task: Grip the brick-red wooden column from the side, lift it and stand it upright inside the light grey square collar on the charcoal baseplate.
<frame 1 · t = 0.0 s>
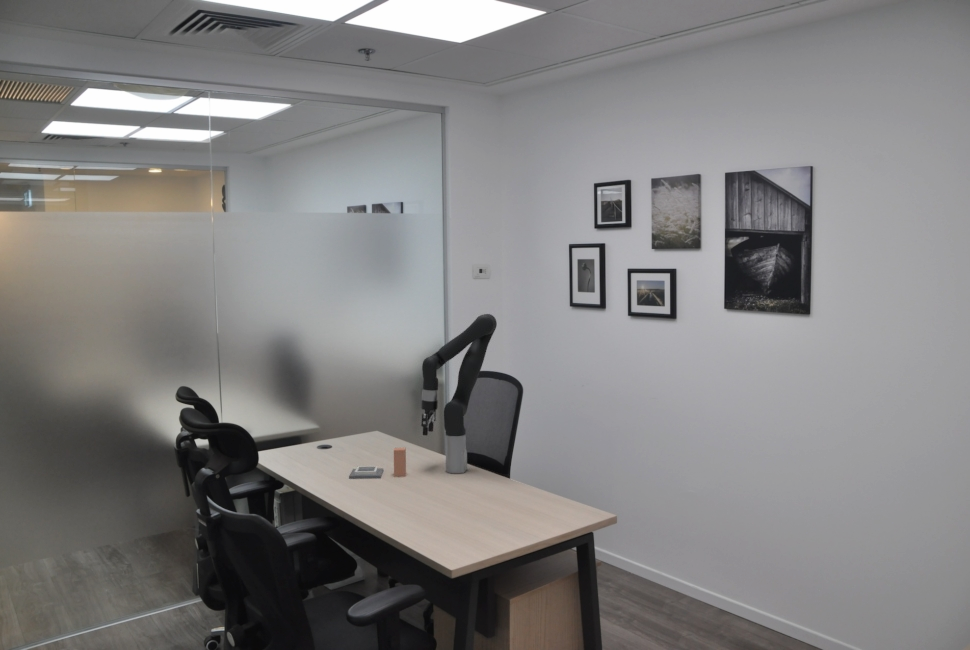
hand: (427, 433, 338), 17 cm above the table, tool pointing down, fingers open, 8 cm apart
column: (400, 474, 330), on the table
baseplate: (366, 474, 330), on the table
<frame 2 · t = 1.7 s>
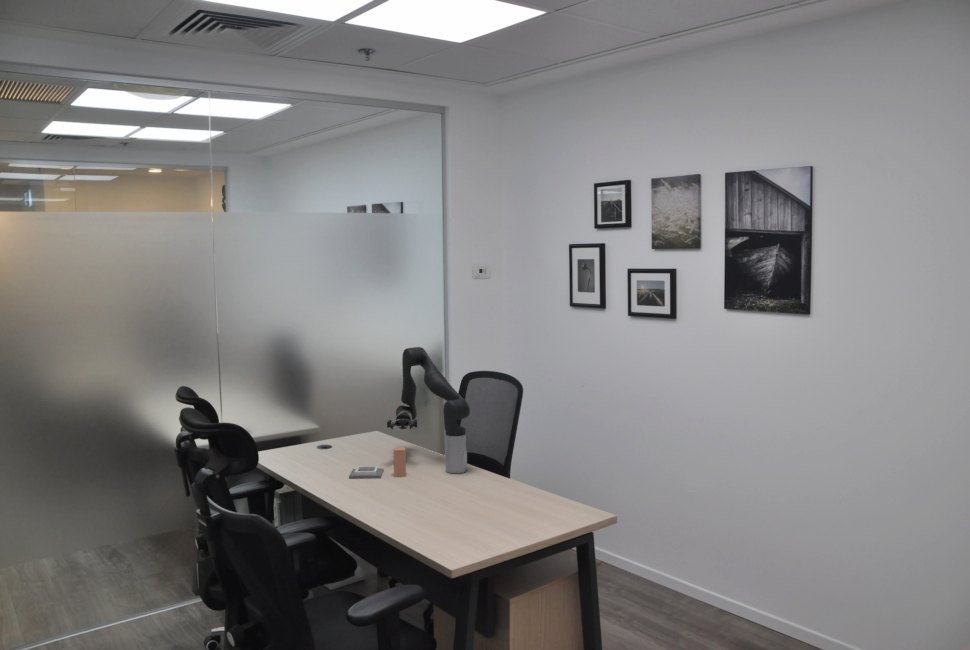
hand: (401, 426, 339), 20 cm above the table, tool horizontal, fingers open, 8 cm apart
nothing on the table moved.
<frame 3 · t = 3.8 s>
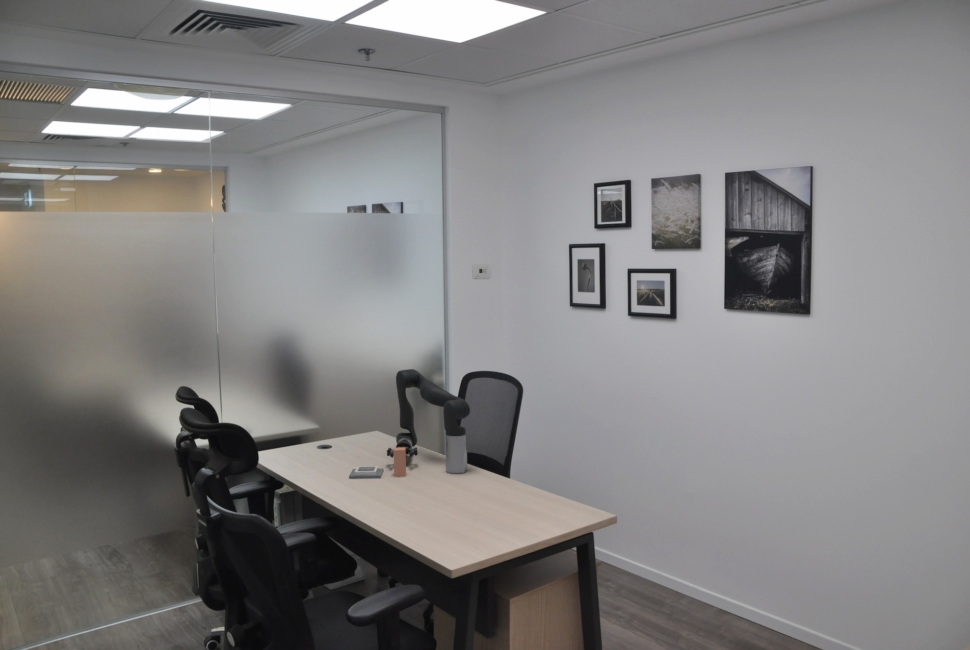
hand: (401, 455, 337), 7 cm above the table, tool horizontal, fingers open, 8 cm apart
nothing on the table moved.
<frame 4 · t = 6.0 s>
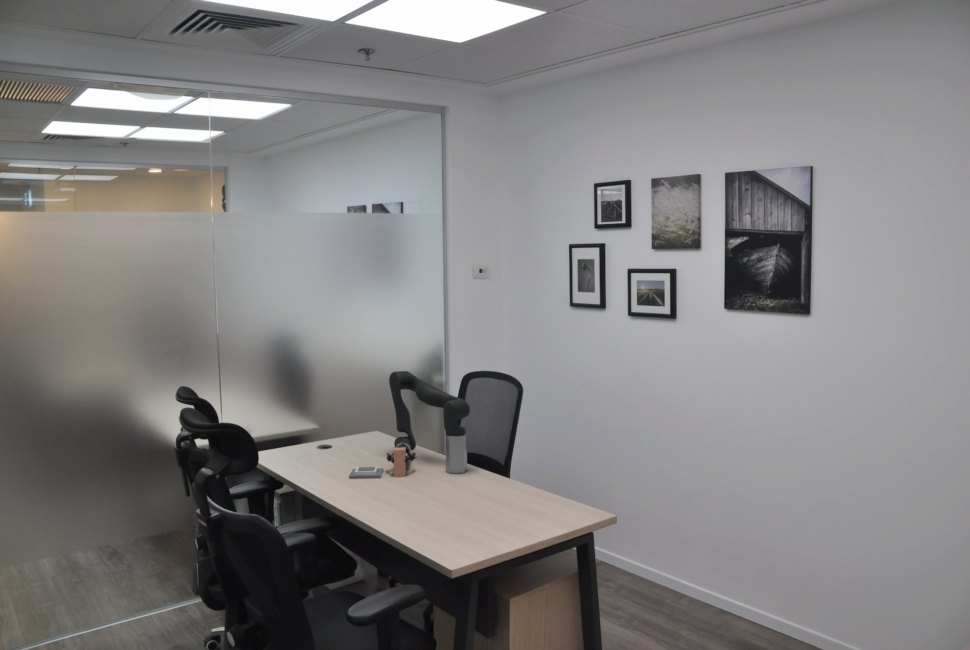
hand: (399, 461, 327), 7 cm above the table, tool horizontal, fingers closed on column, 5 cm apart
column: (400, 474, 330), on the table, touching gripper
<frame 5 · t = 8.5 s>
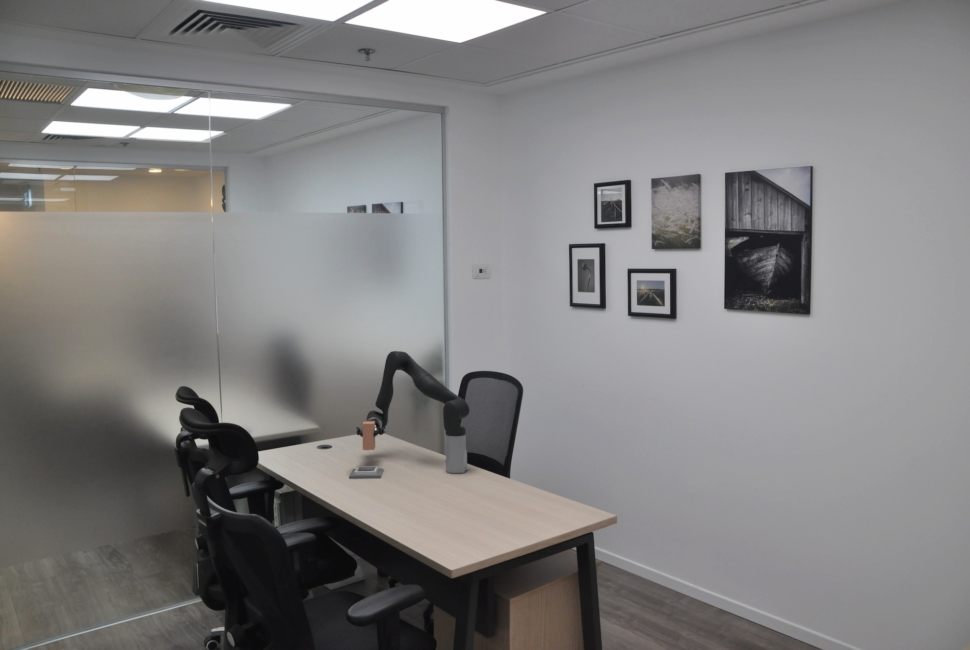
hand: (368, 434, 327), 19 cm above the table, tool horizontal, fingers closed on column, 5 cm apart
column: (369, 448, 330), point 12 cm above the table, touching gripper
when the fingers open (9 cm above the table, at t = 10.9 s): column drops 1 cm, resting on baseplate.
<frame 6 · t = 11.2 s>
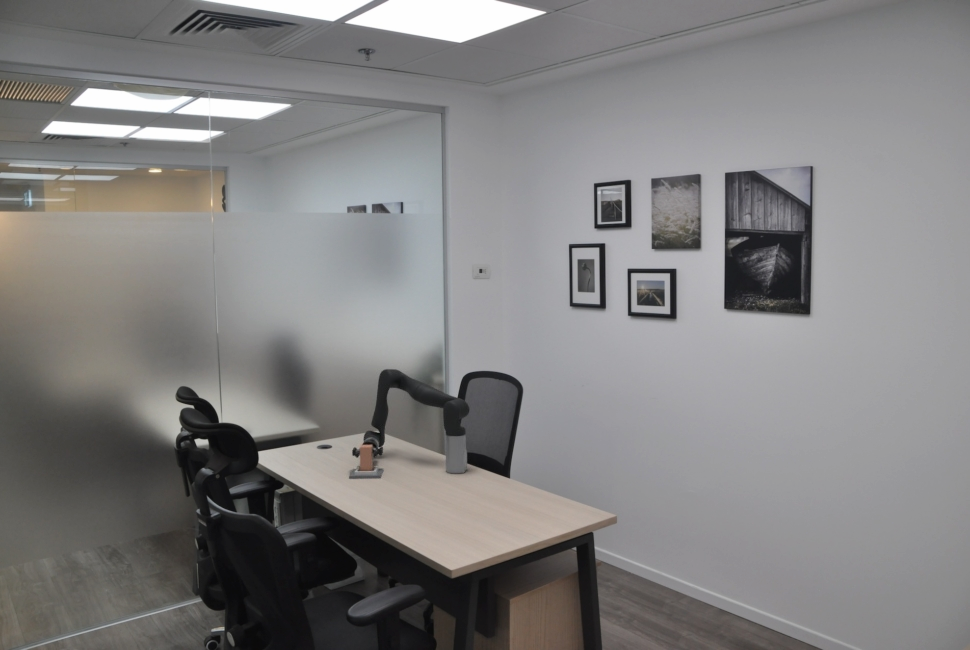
hand: (365, 455, 327), 9 cm above the table, tool horizontal, fingers open, 7 cm apart
column: (366, 472, 330), point 1 cm above the table, touching baseplate
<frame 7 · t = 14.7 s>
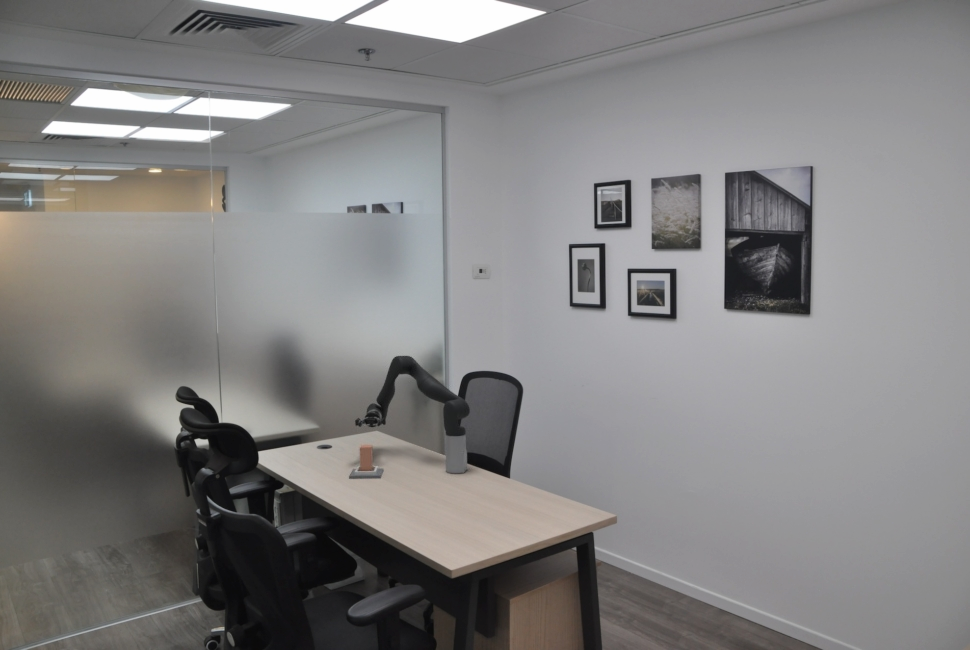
hand: (369, 424, 340), 21 cm above the table, tool horizontal, fingers open, 8 cm apart
nothing on the table moved.
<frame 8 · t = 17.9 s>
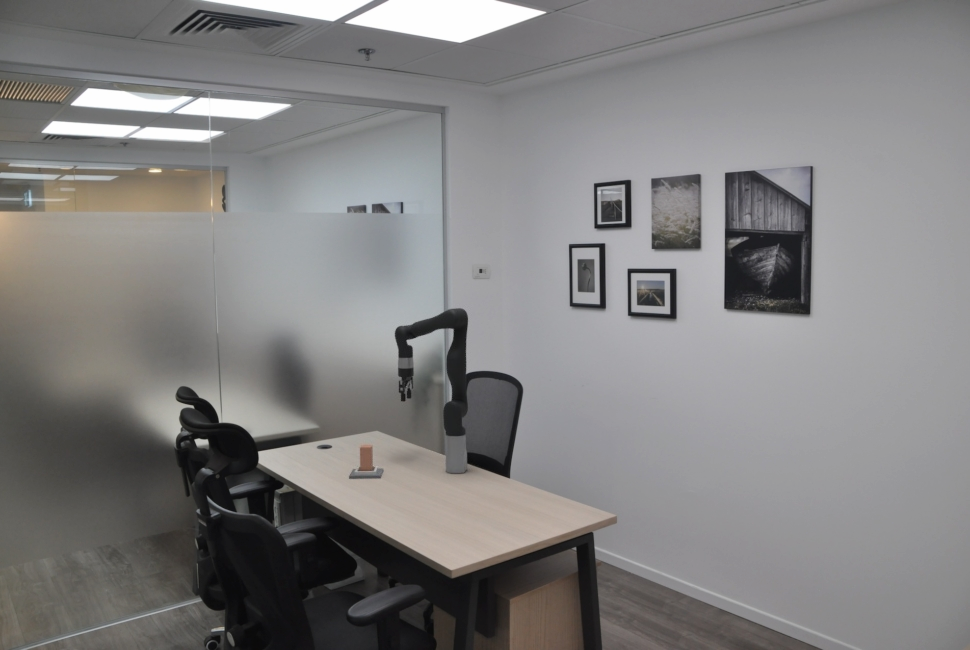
hand: (406, 399, 352), 30 cm above the table, tool pointing down, fingers open, 8 cm apart
nothing on the table moved.
at the end: column 0.1 cm off-centre on the baseplate, point 1.2 cm above the baseplate's base; column tilted 0°; the gripper is holding nothing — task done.
